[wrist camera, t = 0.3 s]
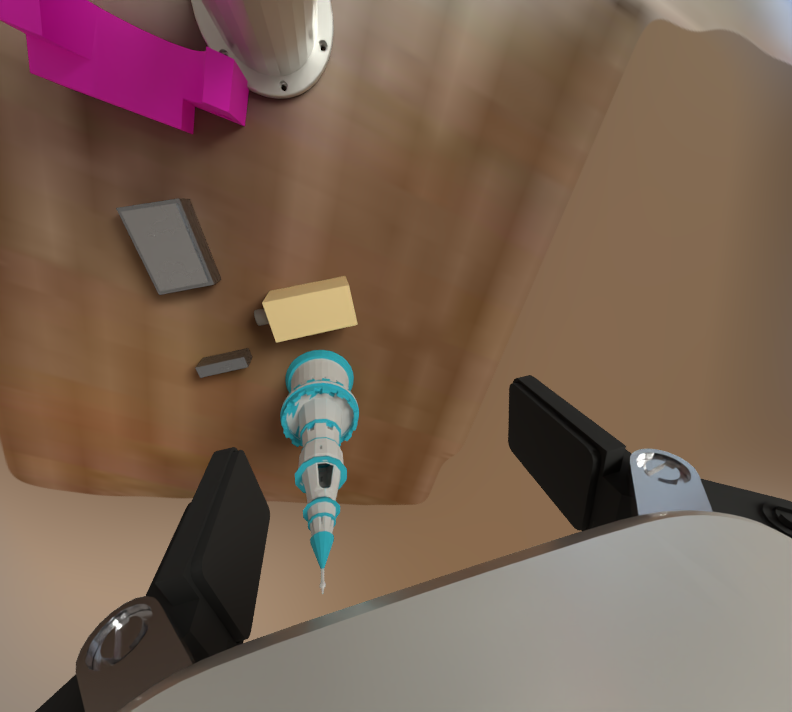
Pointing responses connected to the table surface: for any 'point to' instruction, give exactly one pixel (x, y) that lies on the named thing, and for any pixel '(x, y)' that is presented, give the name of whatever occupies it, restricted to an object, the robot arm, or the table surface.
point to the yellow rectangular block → (307, 309)
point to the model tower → (320, 437)
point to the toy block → (126, 63)
